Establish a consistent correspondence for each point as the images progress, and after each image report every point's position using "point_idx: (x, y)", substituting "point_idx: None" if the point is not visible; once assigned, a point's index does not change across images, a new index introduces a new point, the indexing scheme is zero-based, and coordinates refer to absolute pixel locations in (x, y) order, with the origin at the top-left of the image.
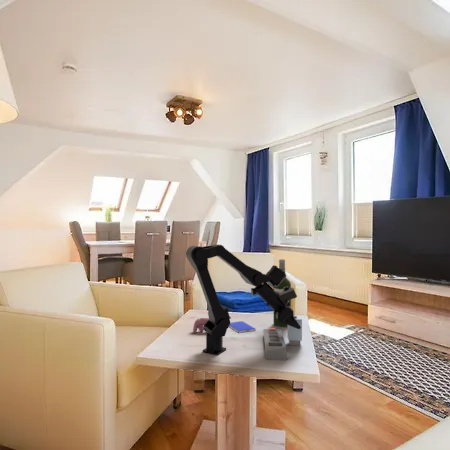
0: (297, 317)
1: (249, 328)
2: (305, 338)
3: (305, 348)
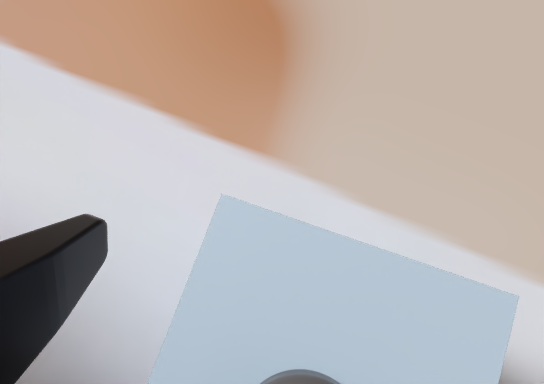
0: (276, 319)
1: None
2: (174, 145)
3: None
